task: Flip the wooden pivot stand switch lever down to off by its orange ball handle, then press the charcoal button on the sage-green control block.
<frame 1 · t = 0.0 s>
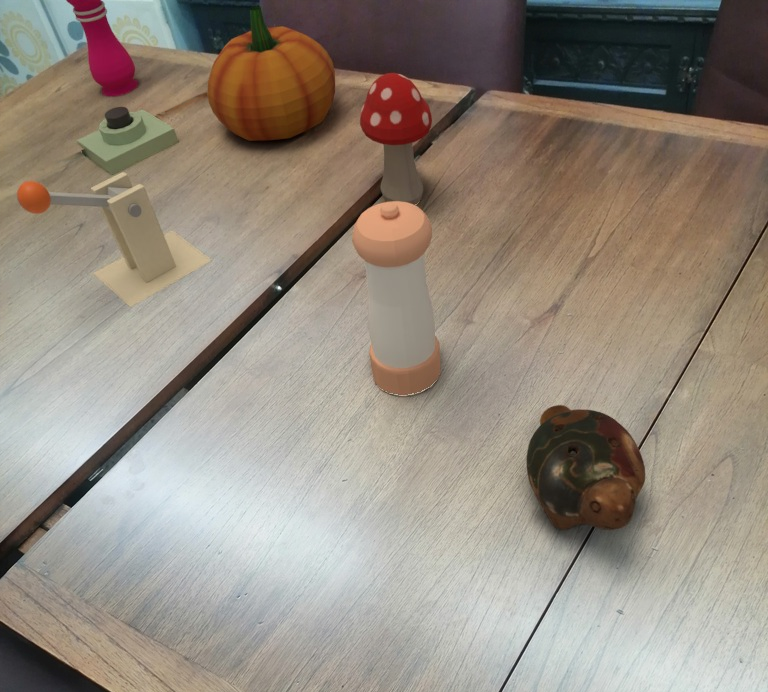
pepper mill: (124, 98, 120), on the table
salt shaker: (406, 373, 74), on the table
pumpkin: (280, 122, 109), on the table
wooden pivot stand: (155, 274, 89), on the table
off button: (118, 118, 105), point 5 cm above the table, slide at 0.2 cm
decorative mushroom: (402, 198, 93), on the table
control block: (130, 148, 109), on the table
decorative turtle: (576, 495, 63), on the table
switch lever: (79, 199, 77), point 12 cm above the table, hinge at 28.0°
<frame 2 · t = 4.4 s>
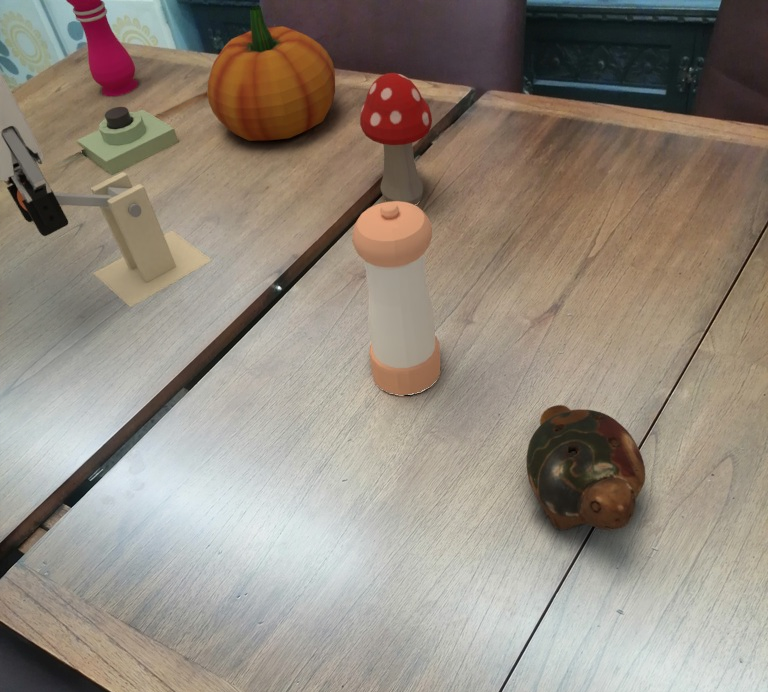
hand: (47, 221, 76), 12 cm above the table, tool pointing down, fingers closed on switch lever, 3 cm apart
switch lever: (79, 199, 77), point 12 cm above the table, hinge at 28.0°, touching gripper
everything else where it was.
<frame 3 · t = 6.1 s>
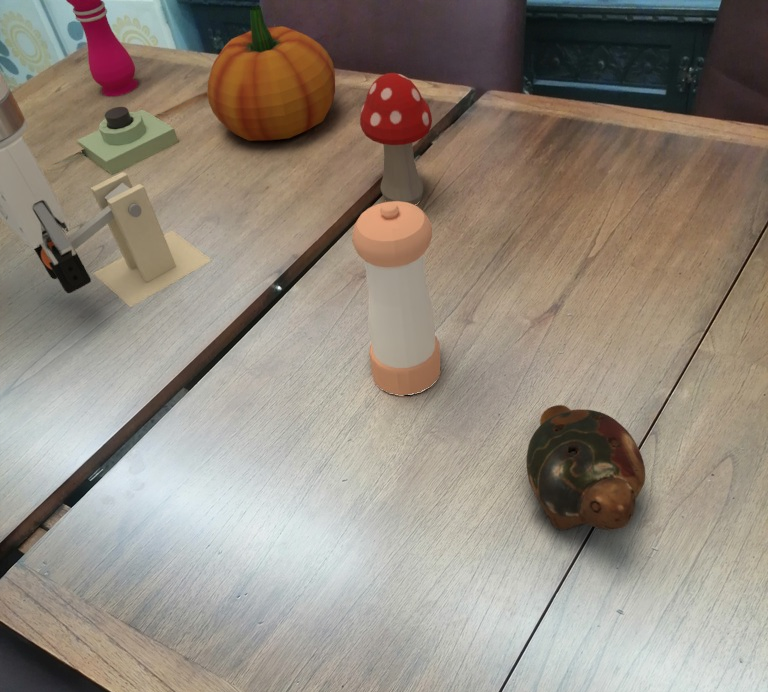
hand: (70, 278, 82), 5 cm above the table, tool pointing down, fingers closed on switch lever, 3 cm apart
switch lever: (89, 229, 80), point 9 cm above the table, hinge at -11.5°, touching gripper
everything else where it was.
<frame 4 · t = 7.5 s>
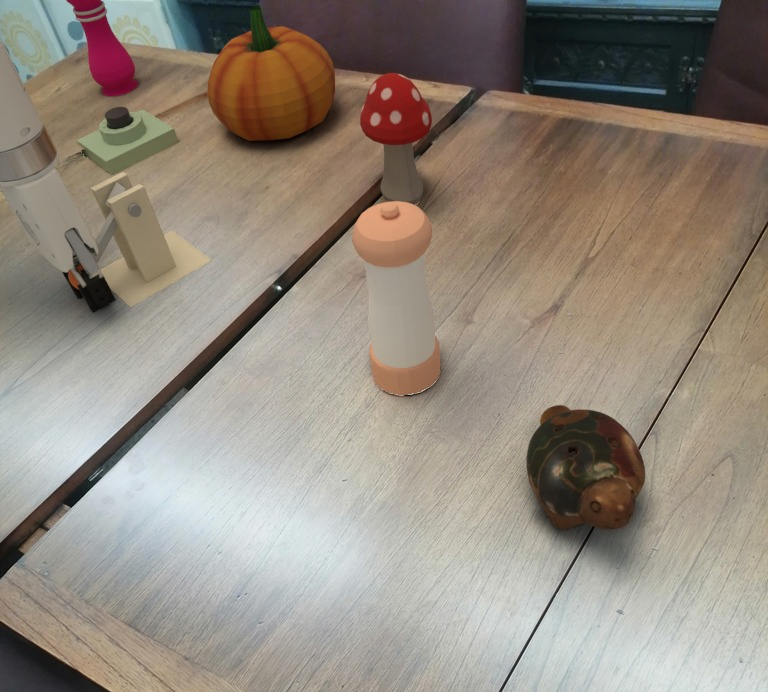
hand: (96, 299, 85), 1 cm above the table, tool pointing down, fingers closed on switch lever, 3 cm apart
switch lever: (102, 240, 82), point 7 cm above the table, hinge at -34.2°, touching gripper
everything else where it was.
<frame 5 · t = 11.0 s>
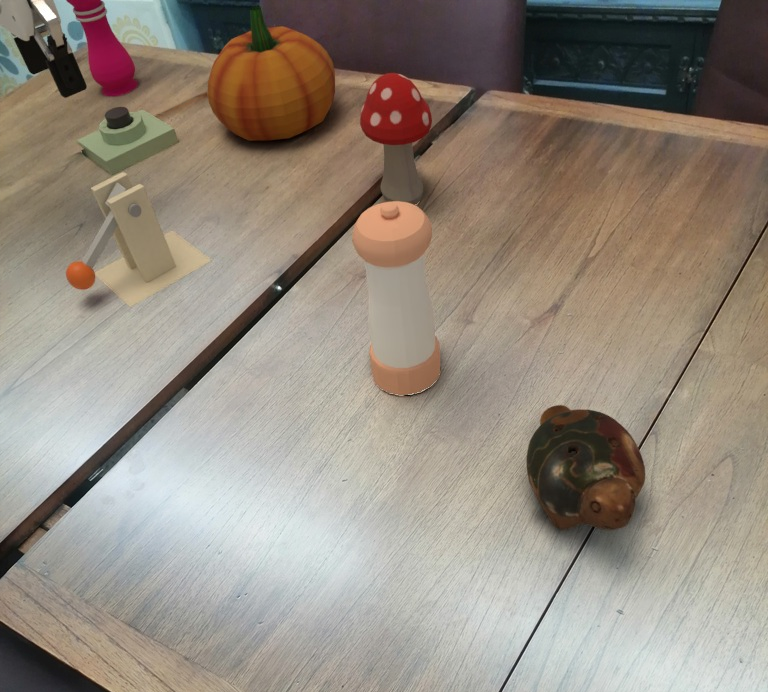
hand: (58, 81, 85), 17 cm above the table, tool pointing down, fingers open, 9 cm apart
switch lever: (101, 239, 81), point 7 cm above the table, hinge at -32.5°
everything else where it was.
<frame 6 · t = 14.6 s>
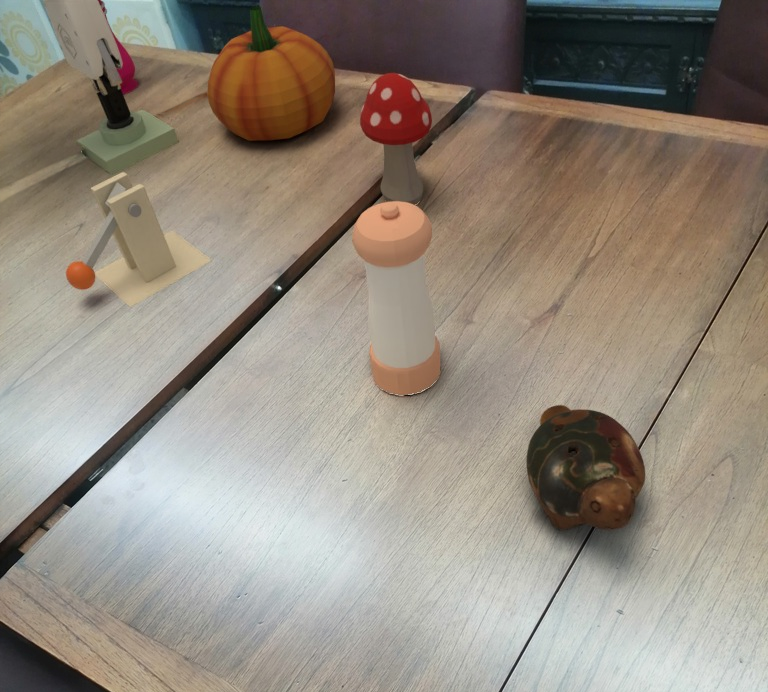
hand: (119, 117, 105), 5 cm above the table, tool pointing down, fingers closed
off button: (121, 124, 106), point 4 cm above the table, slide at -0.7 cm, touching gripper
everything else where it was.
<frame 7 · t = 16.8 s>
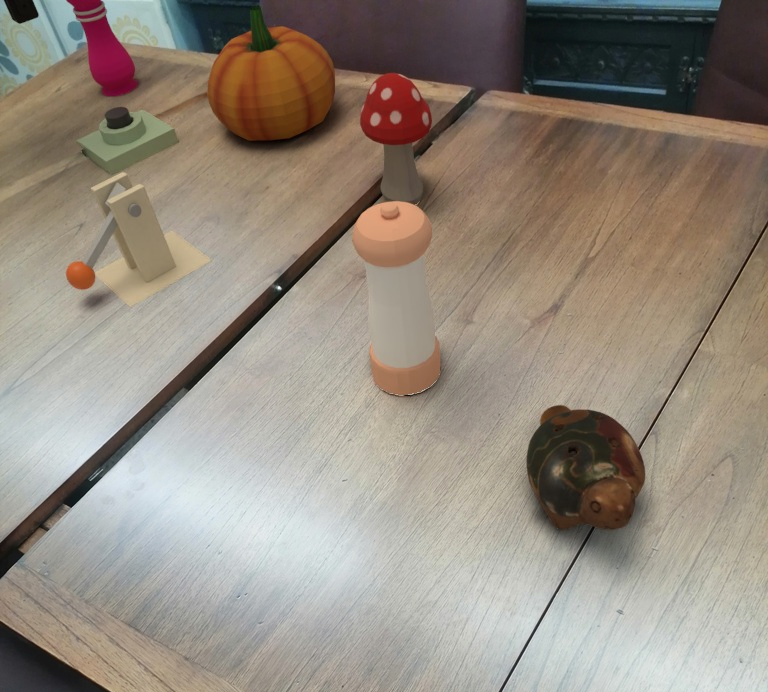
hand: (26, 18, 94), 19 cm above the table, tool pointing down, fingers closed
off button: (118, 118, 105), point 5 cm above the table, slide at 0.1 cm
everything else where it was.
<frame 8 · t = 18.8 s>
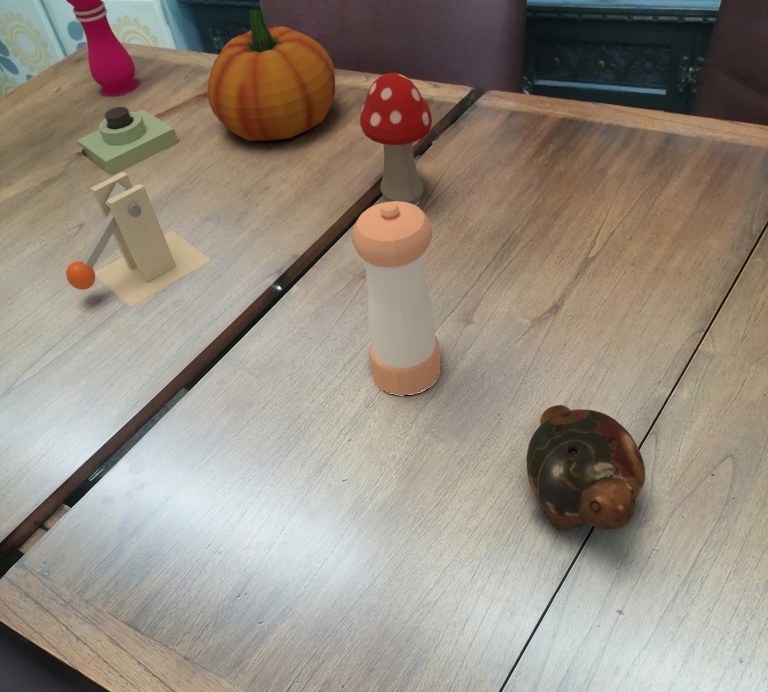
nothing on the table moved.
at the end: switch lever at -32° (first picture: +28°); off button pushed in 1.1 cm at the most during the clip, back to where it started at the end; off button slide at 0.1 cm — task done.
